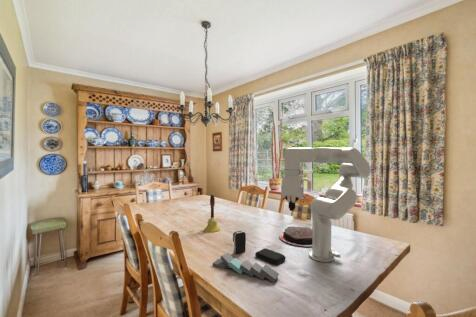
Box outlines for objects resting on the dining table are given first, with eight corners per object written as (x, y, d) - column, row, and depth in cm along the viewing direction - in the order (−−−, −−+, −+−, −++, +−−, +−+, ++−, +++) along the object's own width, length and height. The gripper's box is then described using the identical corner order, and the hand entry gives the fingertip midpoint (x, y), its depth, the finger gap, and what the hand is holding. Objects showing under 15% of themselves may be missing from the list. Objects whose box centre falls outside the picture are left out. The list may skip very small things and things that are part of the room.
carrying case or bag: (288, 260, 121) (266, 251, 131) (288, 254, 120) (266, 246, 131) (276, 267, 113) (253, 257, 124) (276, 261, 113) (253, 251, 123)
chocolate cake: (328, 250, 133) (328, 238, 133) (278, 246, 139) (279, 235, 139) (320, 233, 161) (320, 224, 161) (279, 230, 166) (279, 221, 166)
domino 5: (268, 271, 105) (255, 262, 108) (264, 276, 100) (251, 266, 103) (267, 275, 105) (254, 265, 108) (263, 280, 101) (249, 270, 104)
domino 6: (279, 273, 102) (265, 264, 105) (275, 279, 98) (261, 268, 101) (277, 277, 103) (263, 267, 106) (273, 283, 99) (259, 272, 101)
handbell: (201, 231, 163) (200, 196, 162) (207, 226, 175) (207, 193, 174) (217, 233, 160) (217, 197, 160) (223, 227, 172) (223, 194, 171)
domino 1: (230, 262, 114) (218, 258, 118) (224, 266, 110) (212, 262, 114) (230, 266, 115) (218, 262, 118) (224, 270, 110) (212, 267, 114)
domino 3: (240, 274, 105) (228, 265, 109) (245, 269, 110) (234, 261, 113) (242, 271, 105) (229, 261, 108) (247, 266, 109) (235, 257, 112)
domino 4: (258, 268, 107) (245, 259, 110) (253, 273, 103) (240, 264, 106) (256, 272, 107) (244, 263, 110) (252, 277, 103) (239, 268, 106)
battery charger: (242, 249, 133) (242, 229, 133) (246, 251, 130) (246, 231, 130) (231, 251, 130) (231, 231, 129) (235, 254, 126) (235, 233, 126)
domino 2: (237, 262, 113) (228, 253, 117) (230, 265, 109) (221, 255, 114) (236, 265, 113) (227, 256, 118) (229, 268, 110) (220, 258, 114)
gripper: (309, 173, 114) (309, 210, 114) (279, 171, 120) (279, 207, 121) (306, 174, 107) (306, 213, 107) (275, 172, 114) (274, 210, 114)
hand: (291, 210), depth 114 cm, fingers closed
